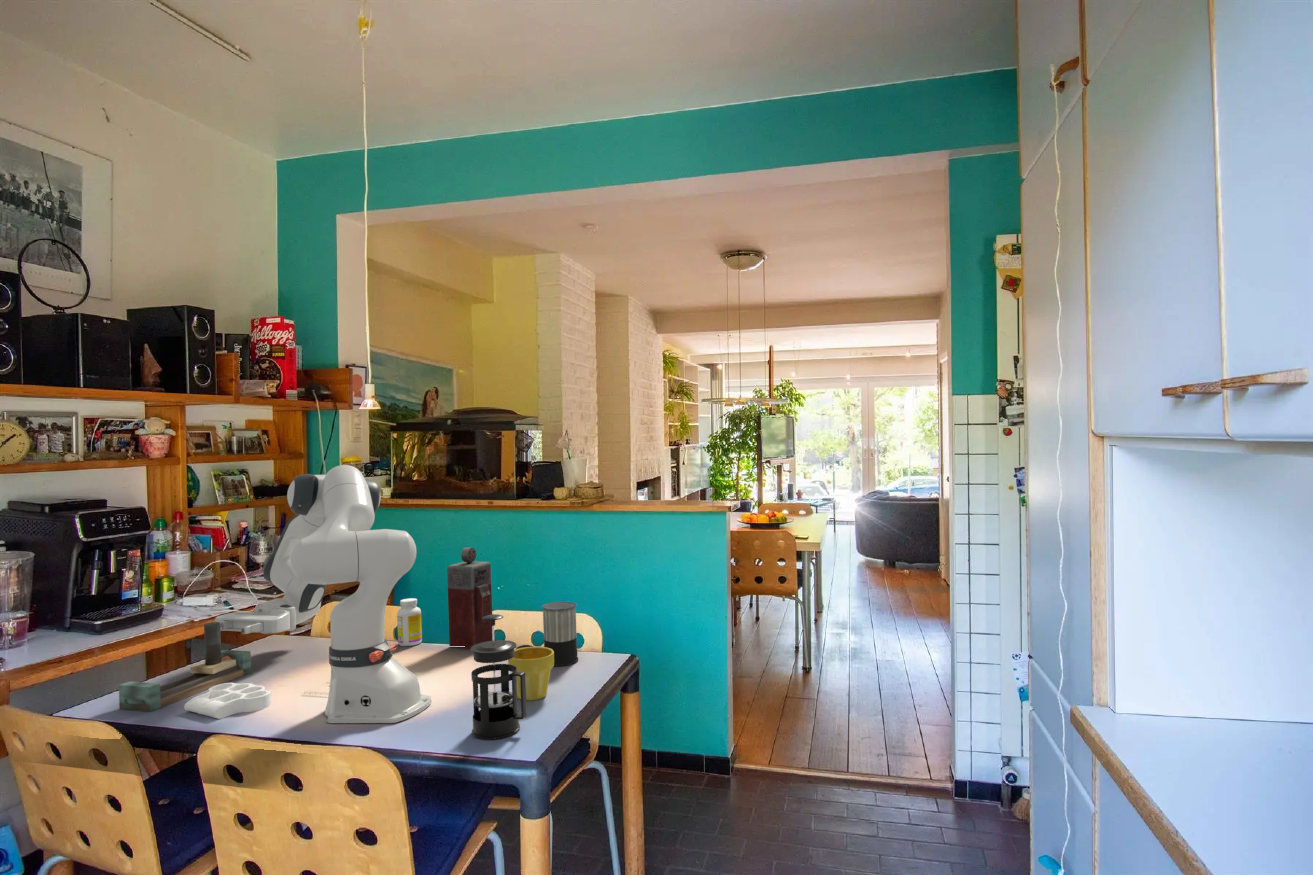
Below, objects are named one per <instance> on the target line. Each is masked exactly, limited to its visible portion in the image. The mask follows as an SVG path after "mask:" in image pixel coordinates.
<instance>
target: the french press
mask: <svg viewBox="0 0 1313 875" xmlns="http://www.w3.org/2000/svg"><path fill="white" fill-rule="evenodd" d="M503 618H504V615H501V614H493V613H492V615H487V616H484V617H483V618H482V619H483V620H489V621H490V623H491V626H492V638H493V641H487V642H482V643H478V644H476V645H473V646H472V647H471V650H470V652H471V653H472V657H473V660H474V661H475V662H477V663H481V664H487V665H483V666H479V667H477V668H474V669H473V670H472V671H471V672H470V673H471V676H470V677H471V682H472V696H473V698H472V700H473V715H472V729H471V735H472V736H473V737H474V738H476V739H477V740H478V739H479V740H483V741H497V740H502V739H506V738H509V737H512V736H514V735H516V734H517V733H518V732H519V731H520V729H521V724H520V722H519V720H524V719H525V718H526V717H527V713H528V712H527V700H526V677H525V672H517V667H516V666H514V665H510V664H508V663H501V662H505V661H508V660H509V659H511V658H513V657H514V650H515V649H516V648H517V643H516V642H514V641H513V640H505V639H504V640H502V639H499V640H495V626H496V621H497V620H498V621H499V620H501V619H503ZM496 671H500V676H496ZM511 671H512V672H513V673H512V672H511ZM486 672H487V673H488V672H493V677H481V676H479V675H480V674H484V673H486ZM510 672H511V673H510ZM517 676H520V682H521V699H520V705H521V706H520V708H521V709H520V710H521V711H520V712H521V714H519V710H518V697H517ZM510 681H511V691H512V692H510ZM499 684H500V688H501V689H500V691H497V687H496V686H497V685H499ZM489 685H493V691H492V692H491V691H490V692H489ZM511 705H512V706H511Z"/></svg>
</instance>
